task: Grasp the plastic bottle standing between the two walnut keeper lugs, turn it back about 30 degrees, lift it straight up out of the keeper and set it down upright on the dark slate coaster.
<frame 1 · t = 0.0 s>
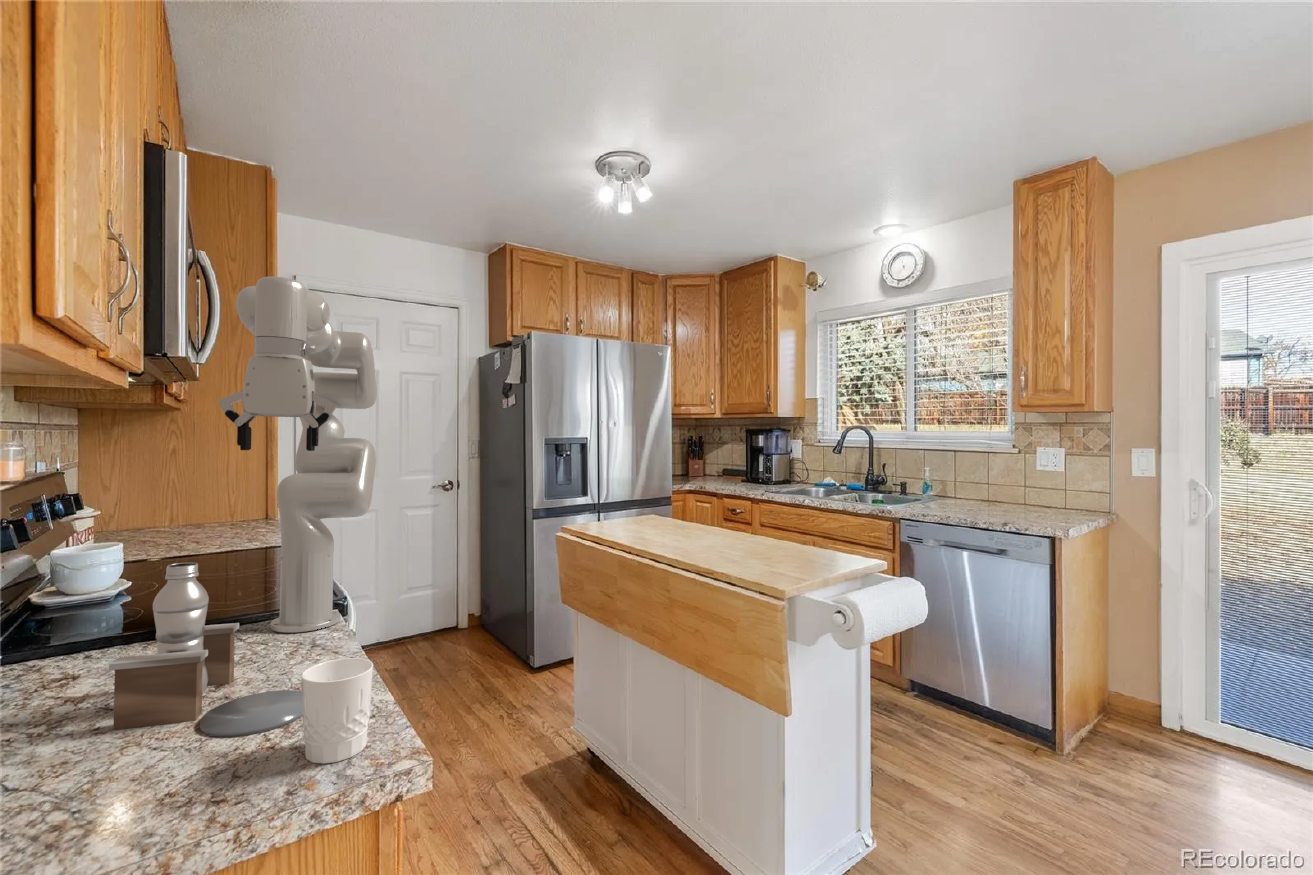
hand: (278, 450, 100), 37 cm above the countertop, tool pointing down, fingers open, 9 cm apart
plastic bottle: (179, 703, 86), on the countertop
coaster: (258, 714, 82), on the countertop
keeper: (179, 701, 86), on the countertop
white cup: (336, 751, 73), on the countertop
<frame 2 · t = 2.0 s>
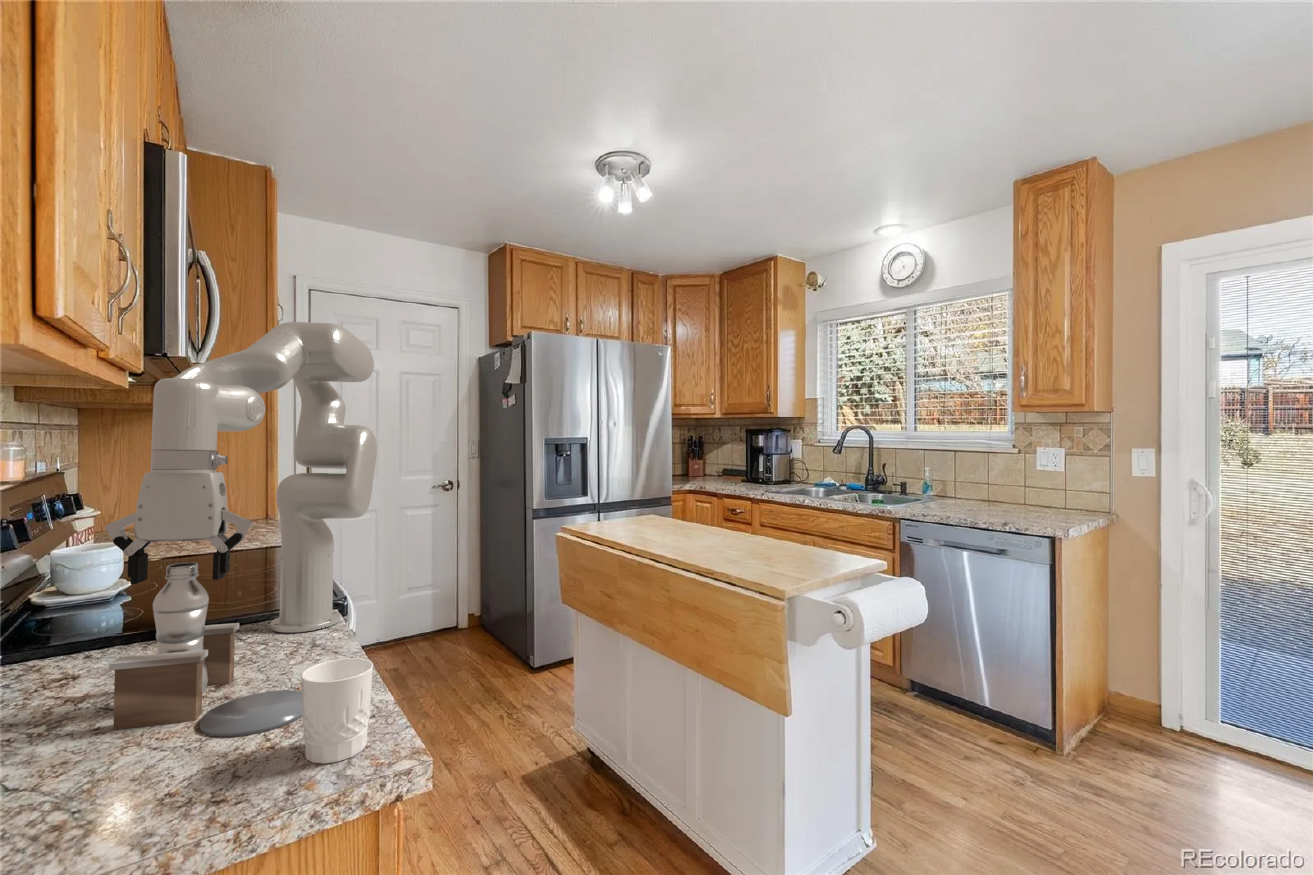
hand: (179, 580, 85), 18 cm above the countertop, tool pointing down, fingers open, 9 cm apart
nothing on the countertop moved.
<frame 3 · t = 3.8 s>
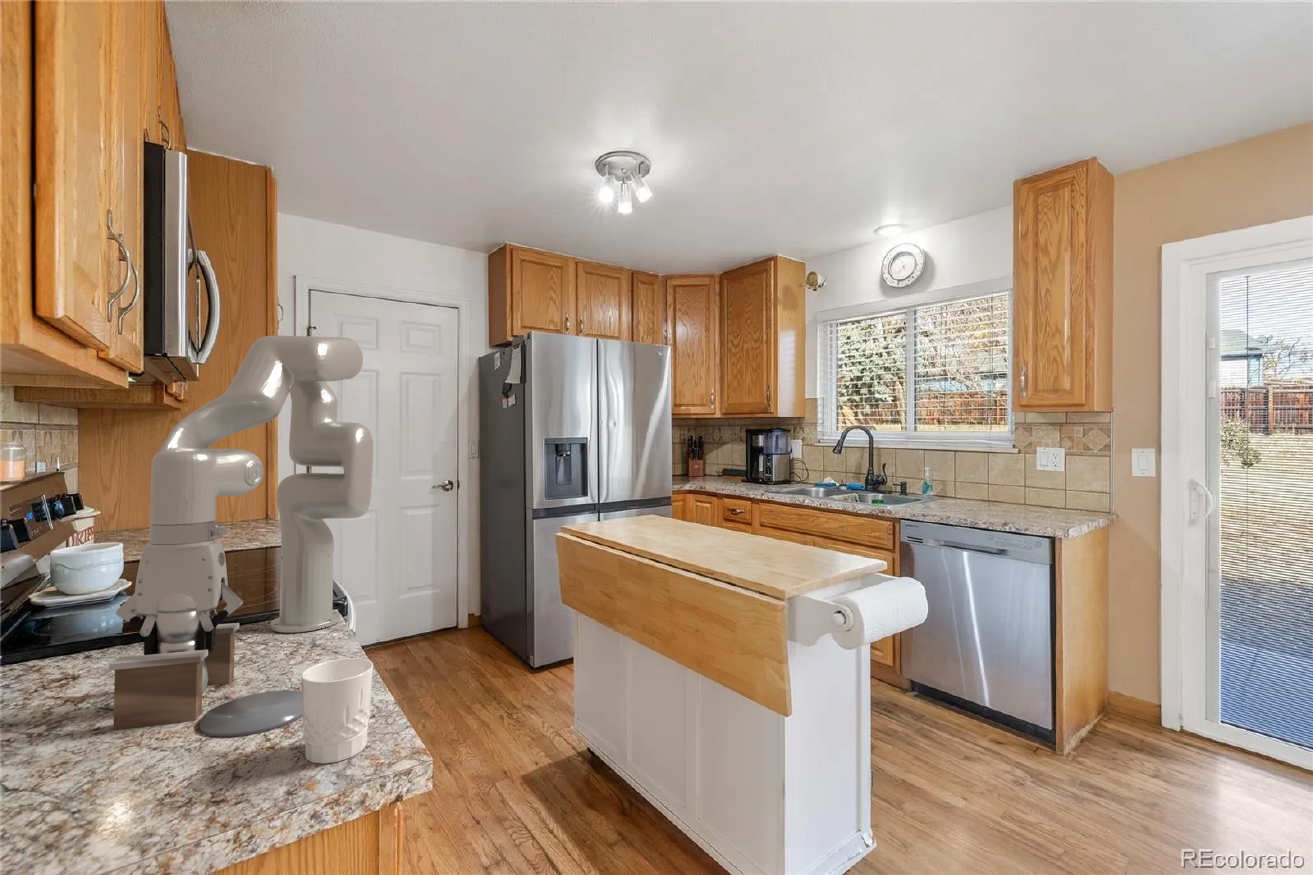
hand: (180, 657, 86), 7 cm above the countertop, tool pointing down, fingers closed on plastic bottle, 5 cm apart
plastic bottle: (179, 703, 86), on the countertop, touching gripper
everything else where it was.
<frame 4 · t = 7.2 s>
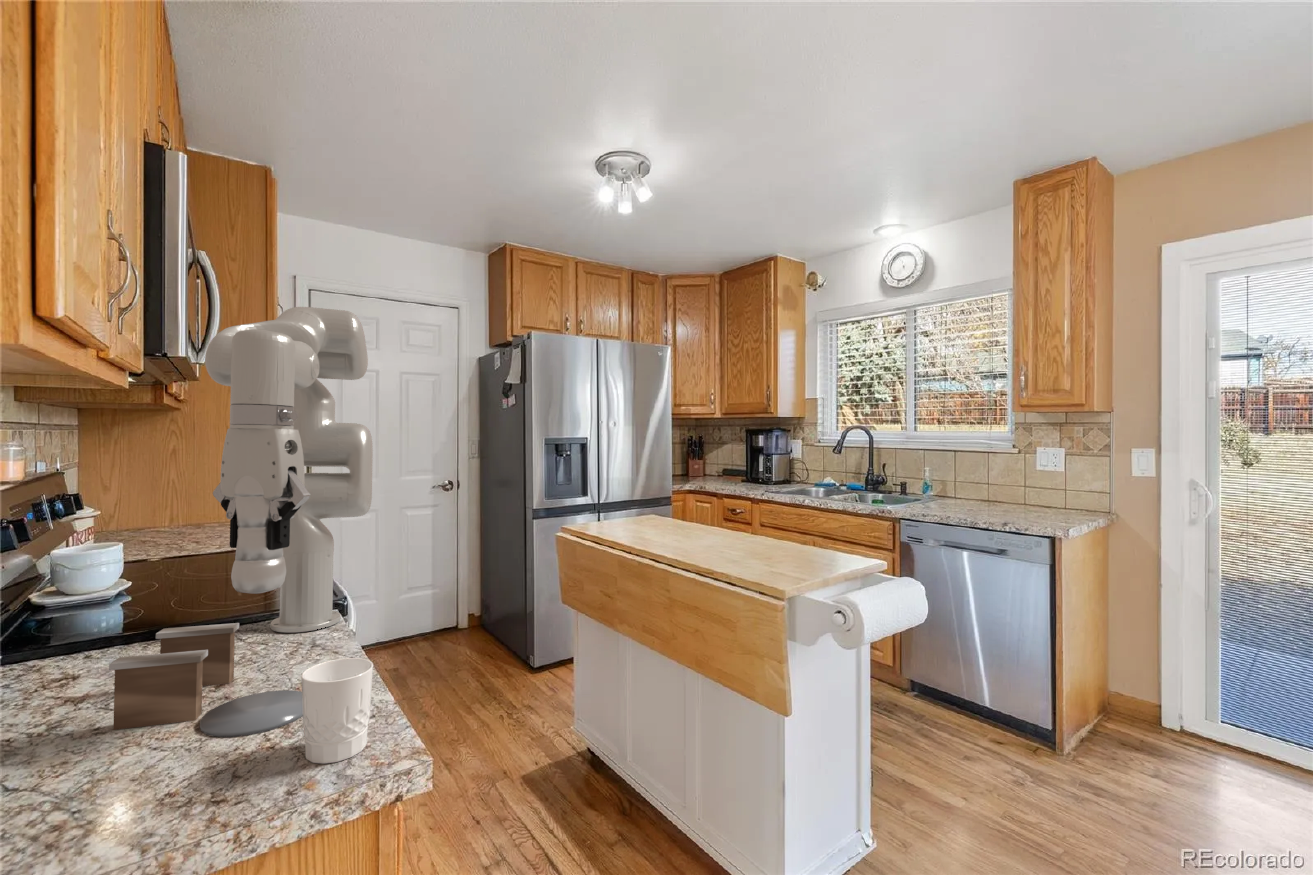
hand: (259, 546, 82), 24 cm above the countertop, tool pointing down, fingers closed on plastic bottle, 5 cm apart
plastic bottle: (258, 593, 82), point 17 cm above the countertop, touching gripper
everything else where it was.
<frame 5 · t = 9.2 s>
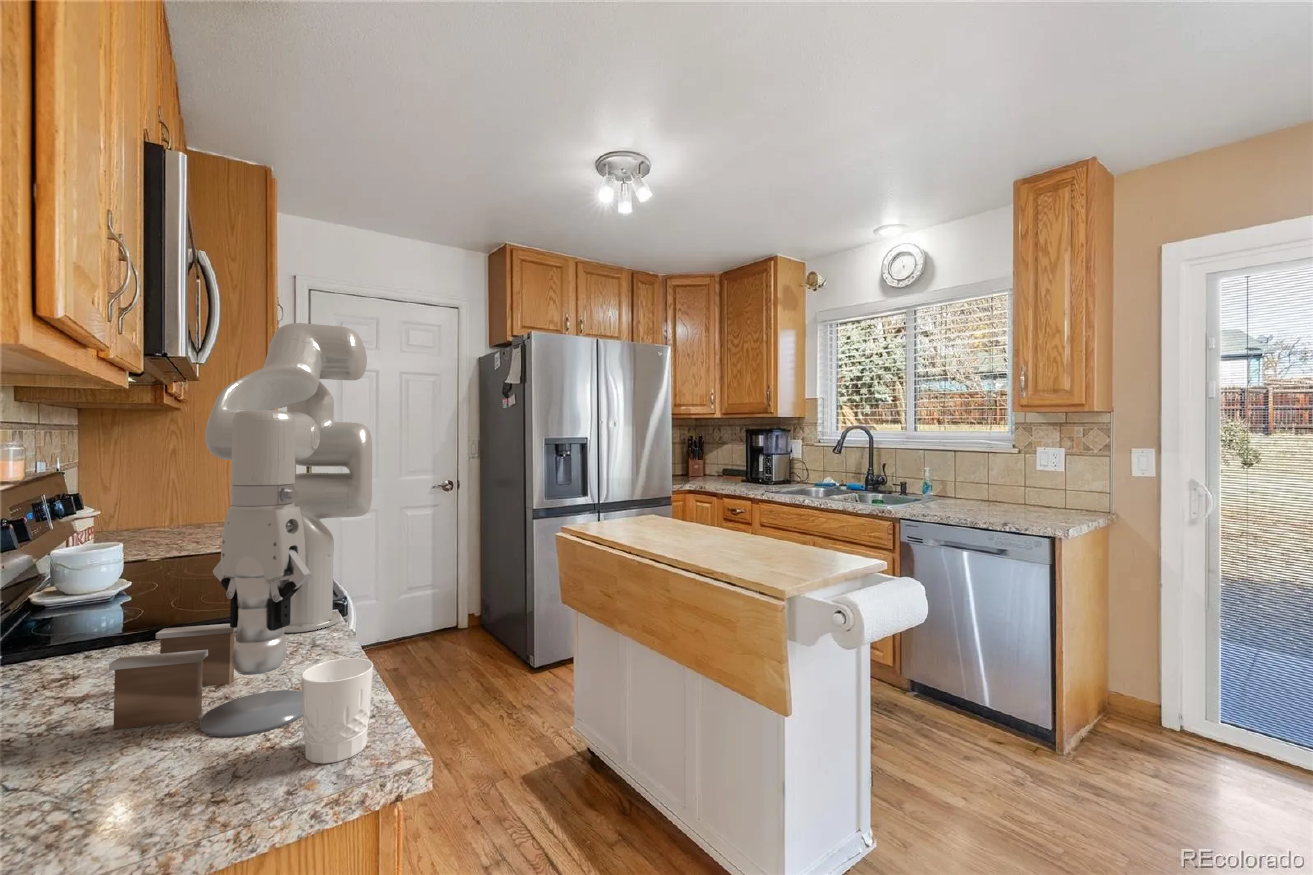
hand: (260, 625, 82), 12 cm above the countertop, tool pointing down, fingers closed on plastic bottle, 5 cm apart
plastic bottle: (259, 673, 82), point 6 cm above the countertop, touching gripper
everything else where it was.
when the fingers open (8 cm above the countertop, at t = 10.9 s): plastic bottle moves 1 cm, resting on coaster.
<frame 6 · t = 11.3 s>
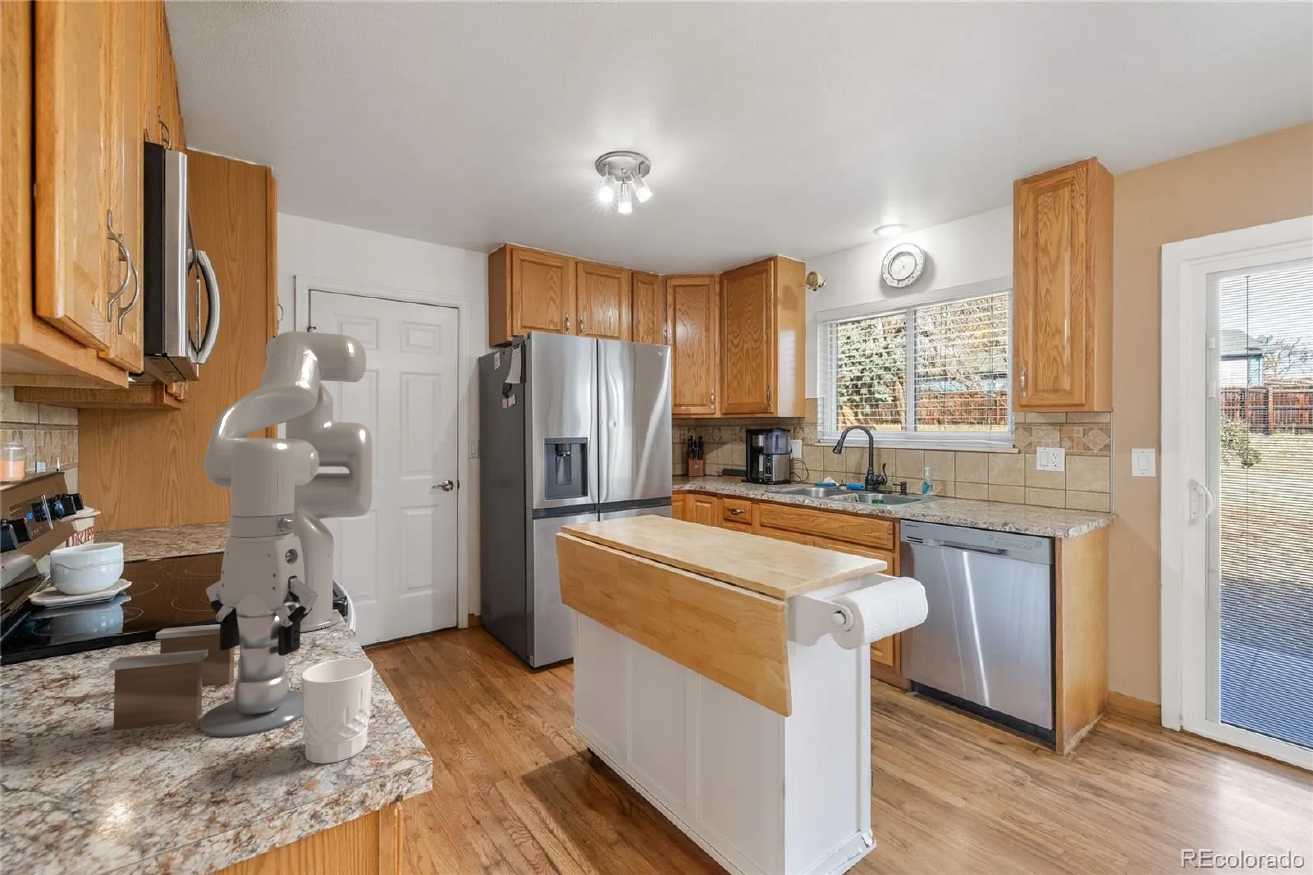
hand: (260, 649, 82), 9 cm above the countertop, tool pointing down, fingers open, 9 cm apart
plastic bottle: (260, 711, 82), resting on coaster
everything else where it was.
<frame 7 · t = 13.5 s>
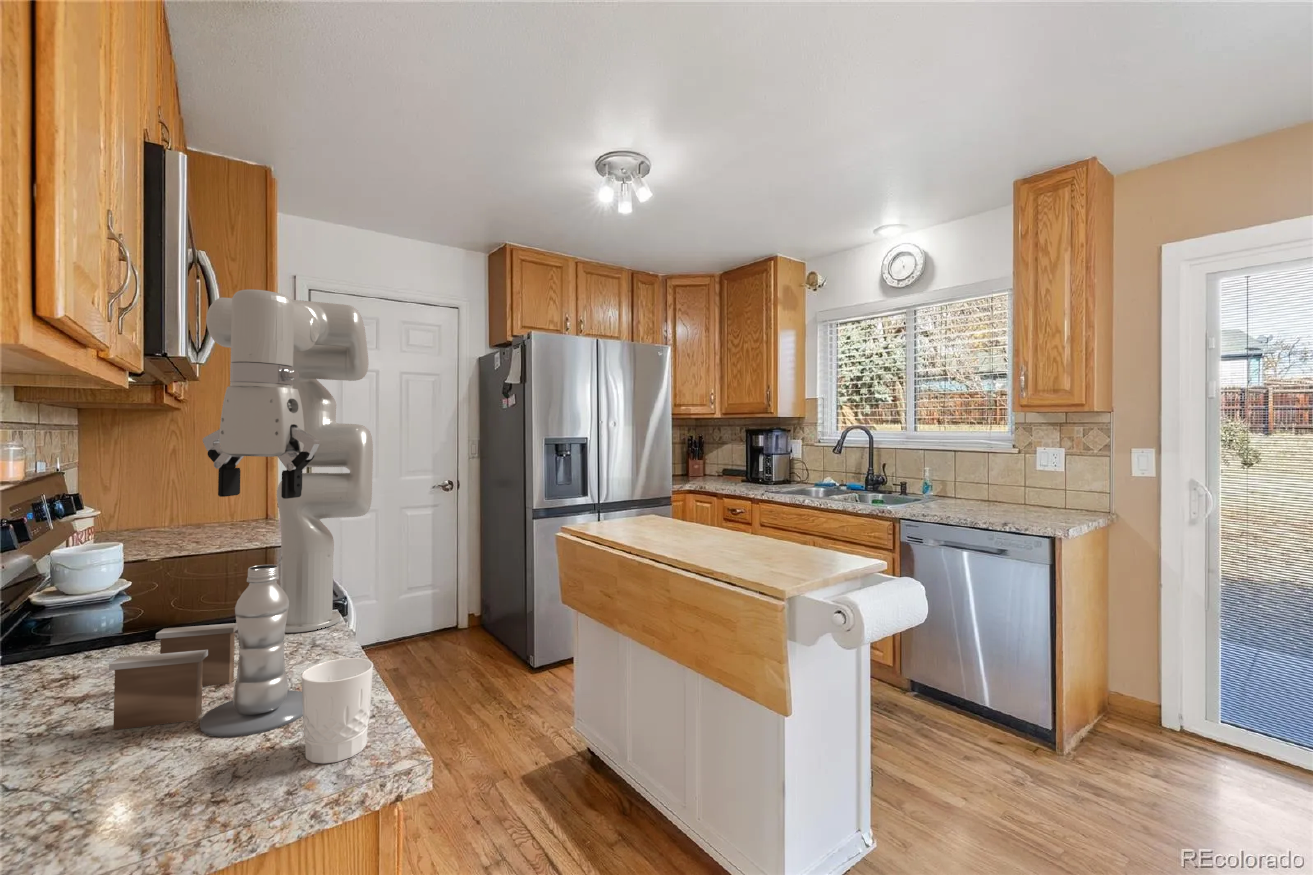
hand: (260, 496, 84), 30 cm above the countertop, tool pointing down, fingers open, 9 cm apart
nothing on the countertop moved.
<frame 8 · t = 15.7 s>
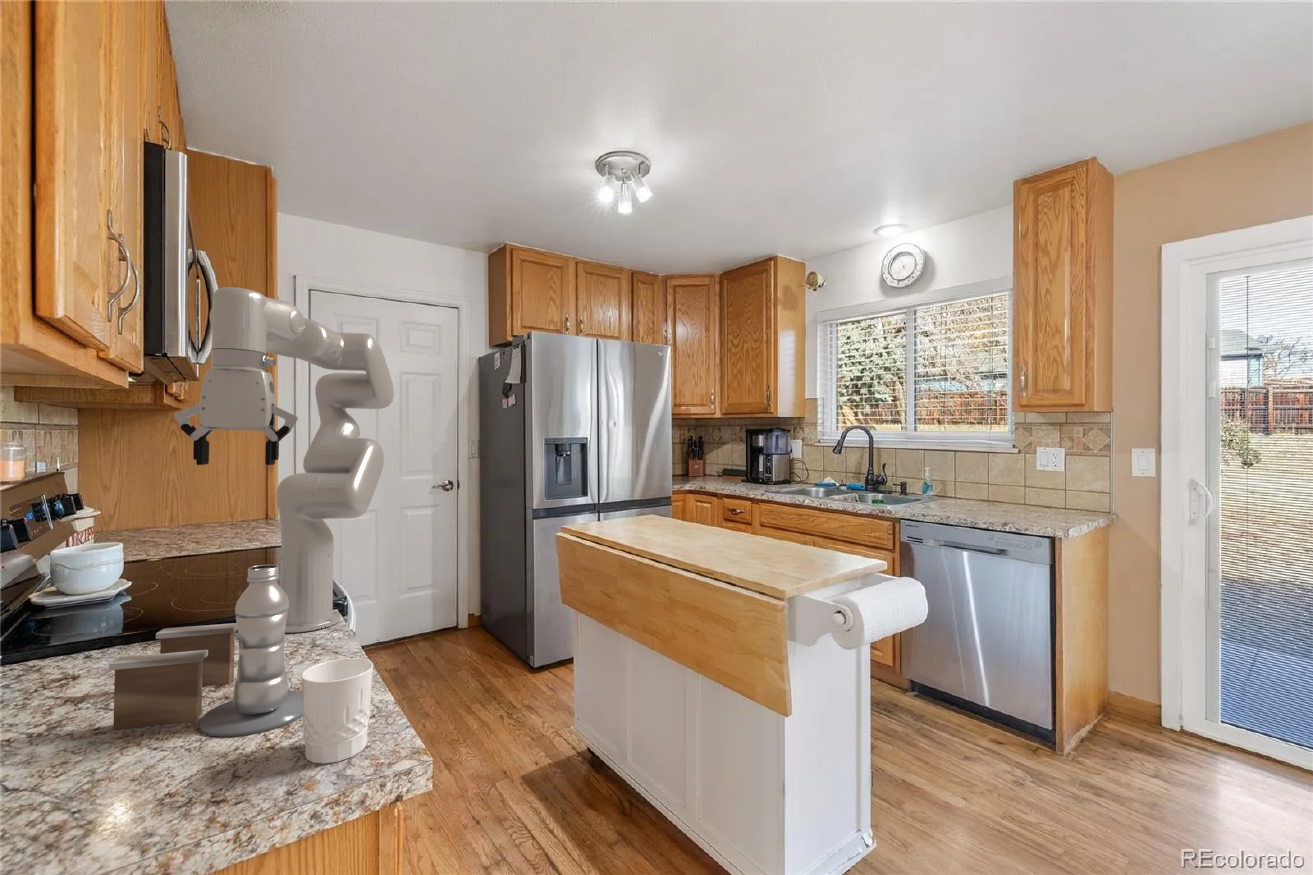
hand: (237, 464, 98), 34 cm above the countertop, tool pointing down, fingers open, 9 cm apart
nothing on the countertop moved.
at the end: plastic bottle 0.4 cm from the coaster (horizontally); plastic bottle tilted 0°; the gripper is holding nothing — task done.
